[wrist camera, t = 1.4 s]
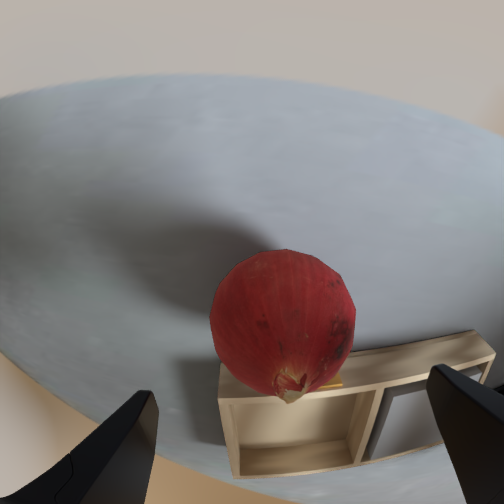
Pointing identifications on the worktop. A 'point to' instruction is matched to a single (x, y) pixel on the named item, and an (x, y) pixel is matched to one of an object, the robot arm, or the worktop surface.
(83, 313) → the worktop surface
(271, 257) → the red rounded piece
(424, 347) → the wooden compartment tray
